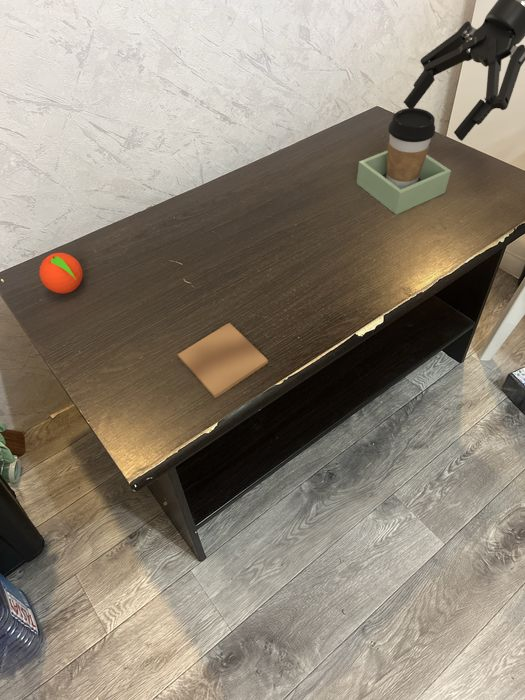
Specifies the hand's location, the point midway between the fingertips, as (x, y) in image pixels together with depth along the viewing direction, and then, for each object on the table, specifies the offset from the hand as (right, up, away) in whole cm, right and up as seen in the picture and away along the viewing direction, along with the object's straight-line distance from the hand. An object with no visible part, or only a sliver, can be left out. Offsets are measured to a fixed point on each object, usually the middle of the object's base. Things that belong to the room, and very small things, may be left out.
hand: (431, 121), depth 94 cm
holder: (-4, -10, +9) cm, 13 cm away
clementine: (-66, -32, -5) cm, 73 cm away
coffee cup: (-3, -10, +9) cm, 14 cm away
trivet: (-38, -44, -16) cm, 61 cm away
